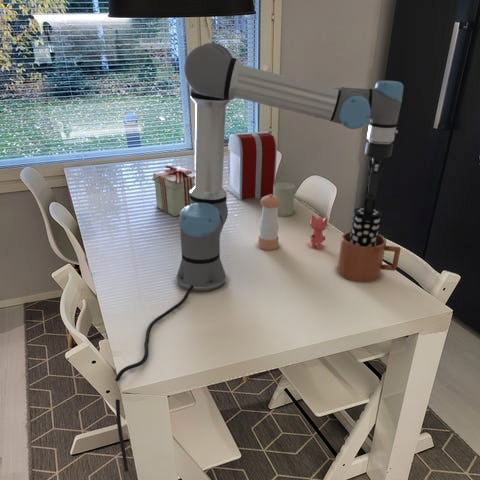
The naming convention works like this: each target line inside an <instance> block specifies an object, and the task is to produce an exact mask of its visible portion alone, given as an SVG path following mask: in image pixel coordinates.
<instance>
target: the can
mask: <svg viewBox="0 0 480 480" xmlns="http://www.w3.org/2000/svg"><path fill="white" fill-rule="evenodd" d="M295 191H296V185H295V184H294V183H291V182H286V181H285V182H284V181H283V182H275V184H274V185H273V196H276V197H278V198H279V199H280V201H281V203H280V206H279V207H278V216H281V217H285V216H286V217H287V216H290V215H291V216H292V215H294V202H295V193H296V192H295Z"/></svg>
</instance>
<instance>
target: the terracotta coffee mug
mask: <svg viewBox="0 0 480 480" xmlns="http://www.w3.org/2000/svg"><path fill="white" fill-rule="evenodd" d="M350 236H351V230H349V231H346V232H344V233H342V235H341V240H340V241H341V242H340V248H339V255H338V262H337V269H336V271H337V274H338V275H339V276H340V277H342V278H344V279H346V280H348V281H352V282H356V283H357V282H358V283H370V282H374V281H376V280H378V279H379V278H380V276H381V273H382V270H385V271H393V272H395V271H397V269H398V264H399V260H400V256H401V255H400V254H401V251H402V250H401V247H400V246H394V245H387V239H386V238H385V236H383V235H381V234H379V233H378V237H377V243H376V246H373V247H366V246H359V245H354V244H352V243H350ZM385 251H386V252H394V254H393V258H392V264H391V265H390V264H383V262H384V256H385Z"/></svg>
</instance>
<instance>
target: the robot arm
mask: <svg viewBox="0 0 480 480" xmlns="http://www.w3.org/2000/svg"><path fill="white" fill-rule="evenodd" d="M183 74H184V78H185V81H186V83H187V85H188V86H189V88H190V92H189V93H190V94H189V95H190V99H191V100H192V101H193V102H194V104H195V129H194V130H195V131H194V133H195V134H194V135H195V136H194V137H195V138H194V172H195V187H194V188H193V189H192V190H191V191H190V206H189V205H188V206H186V207H184V208H183V209H182V211H181V213H180V215H179V221H178V222H179V228H180V229H179V232H180V248H181V250H180V251H181V261H180V264H179V266H178V267H179V268H178V270H177V272H176V273H177V274H176V283H177V285H178V286H179V287H180V288H182V289H183V290H186V292H185V294H184V296H183V297H182V298H181V300H180V301H179V302H177V303H176V304H175V305H173V306H172V307H170V308H169V309H167V310H166V311H165V312H163V313H162V314H160V315H158V316H157V317H156V318H154V319H153V320H152V321H151V322H150V323H149V325H148V326H147V328H146V330H145V331H146V332H145V340H144V346H143V347H144V354H143V356H142V358H141V360H139V361H138V362H135V363H133V364H129V365H127V366H125V367H123V368H121V370H119V372H118V373H117V375H116V377H115V378H114V381H115V382H119V381H120V380H121V378H122V376H123V375H124V374H125V373H126V372H128V371H130V370H132V369H135V368H138V367H140V366H142V365H143V364H144V363H145V362H146V360H147V359H148V356H149V342H150V334H151V330H152V328H153V327H154V325H155V324H157V322H159V321H160V320H161V319H163V318H165V317H166V316H167V315H169V314H170V313H171V312H173V311H174V310H176V309H178V308H179V307H180V306H182V305H183V304H184V303H185V302H186V300H187V298H188V297H189V295H190V294H191V292H194V293H206V292H207V293H208V292H212V291H216V290H218V289H220V288H221V287H223V286H224V285H225V283H226V279H227V278H226V272H225V269H224V267H223V264H222V260H221V256H220V254H221V253H220V252H221V250H220V249H221V248H220V247H221V246H220V245H221V242H220V240H221V239H220V237H221V232H222V230H223V228H224V226H225V224H226V222H227V219H228V214H229V209H228V204H227V200H228V199H227V198H228V194H227V191H226V190H225V189H224V188H223V182H224V181H223V177H224V155H225V154H224V153H225V132H226V128H225V127H226V111H227V105H228V104H229V103H230V102H231V101H232V100H233V99H241V100H243V101H247V102H251V103H256V104H260V105H264V106H267V107H268V106H269V107H273V108H277V109H279V110H280V109H281V110H285V111H288V112H292V113H296V114H300V115H305V116H309V117H313V118H317V119H322V120H325V121H329V122H332V123H336V124H339V125H342V126H344V127H345V128H347V129H350V130H357V129H360V128H362V127H364V126H365V125H366V124H367V123H368V121H369V124H368V129H367V134H366V140H367V141H366V142H365V149H364V155H365V156H366V157H369V158H371V160H369V163H368V176H367V177H368V178H367V185H366V189H365V194H364V195H365V196H363V201H364V202H363V207H364V213H363V219H362V221H370V222H372V217H373V211H374V208H375V206H376V205H375V204H376V200H377V194H378V189H379V188H378V187H379V181H380V179H381V177H382V171H383V170H384V169H383V168H384V161H382V159H388V158H391V156H392V154H393V149H394V148H393V147H394V143H393V142H394V141H395V137H396V135H397V134H398V133H399V131H398V129H397V127H398V121H399V116H400V111H401V107H402V103H403V95H404V84H403V83H402V82H400V81H395V80H378V81H376V83H375V86H374V88H358V87H357V88H356V87H345V86H342V87H330V86H327V85H322V84H318V83H314V82H310V81H306V80H302V79H298V78H294V77H291V76H287V75H283V74H278V73H275V72H271V71H267V70H263V69H259V68H255V67H251V66H248V65H243V64H242V63H241V61H240V59H238V58H235V57H233V55H232V53H231V52H230V51H229V50H228V48H226V47H225V46H223V45H222V44H220V43H215V42H211V43H210V42H207V43H204V44H201V45H199V46H197V47H195V48H193V49H192V50H191V51H190V52H189V53H188V55H187V57H186V58H185V61H184V66H183ZM115 415H116V425H117V434H118V439H119V445H120V451H121V456H122V457H121V458H122V461H123V471H124V472H125V473H127V472H128V471H129V466H128V459H127V453H126V447H125V440H124V436H123V427H122V419H121V417H122V416H121V400H120V399H117V398H115Z"/></svg>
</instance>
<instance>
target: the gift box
mask: <svg viewBox="0 0 480 480" xmlns="http://www.w3.org/2000/svg"><path fill="white" fill-rule="evenodd" d="M165 168H166V170H162V171H157V172H154V173H152V181H153V182H154V190H155V200H156V207H157V208H158V209H160V210H162V211H163V212H165V213H167V214H169V215H171V216H173V217H177V216H180V213H181V211H182V209H183V208H184V207H186V206H188V205H189V206H190V191H191V190H192V189H193V188H194V187H195V171H193V170H191V169H188V168H185V167H182V166H181V167H177V168H176V167H175V166H171V165H165Z"/></svg>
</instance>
